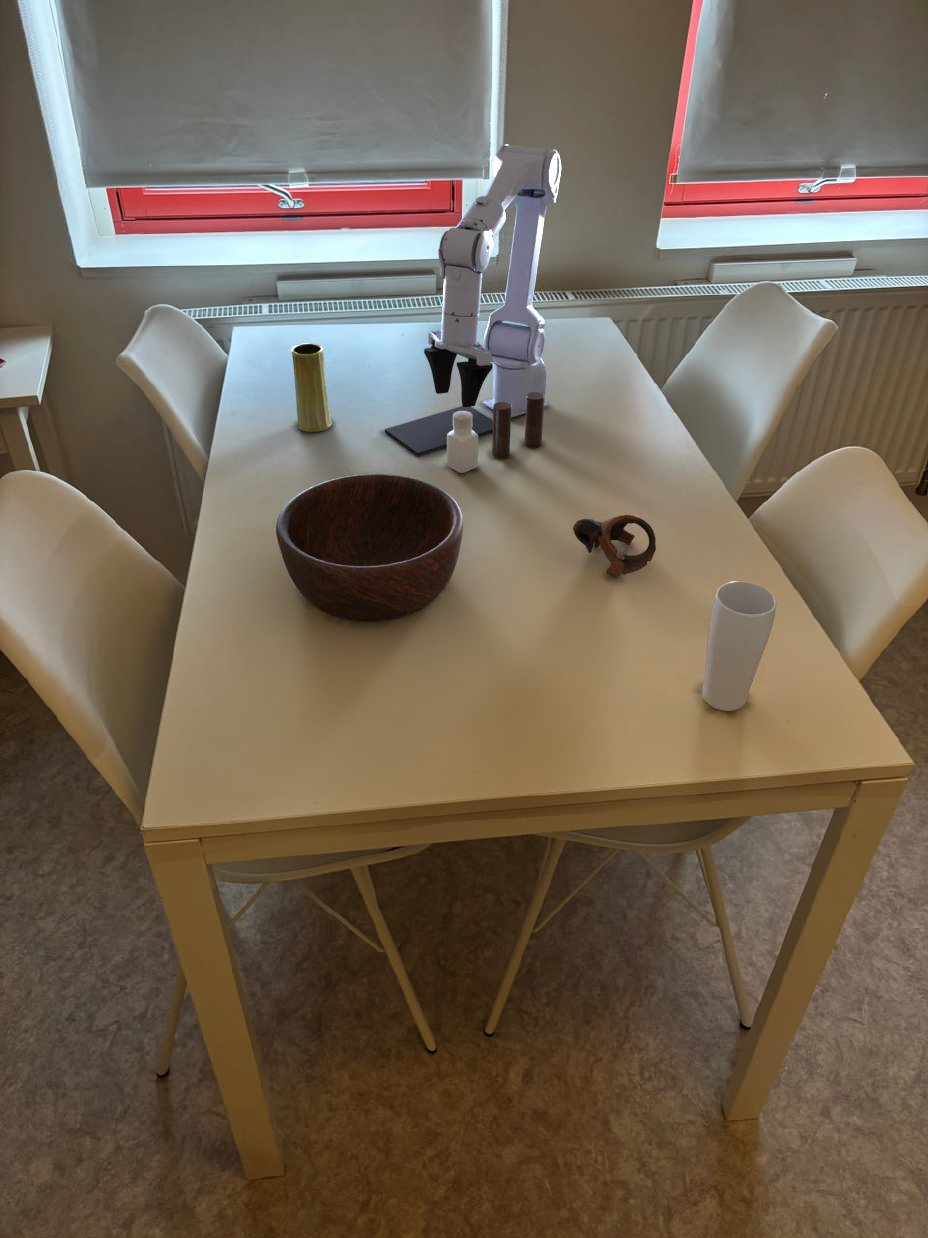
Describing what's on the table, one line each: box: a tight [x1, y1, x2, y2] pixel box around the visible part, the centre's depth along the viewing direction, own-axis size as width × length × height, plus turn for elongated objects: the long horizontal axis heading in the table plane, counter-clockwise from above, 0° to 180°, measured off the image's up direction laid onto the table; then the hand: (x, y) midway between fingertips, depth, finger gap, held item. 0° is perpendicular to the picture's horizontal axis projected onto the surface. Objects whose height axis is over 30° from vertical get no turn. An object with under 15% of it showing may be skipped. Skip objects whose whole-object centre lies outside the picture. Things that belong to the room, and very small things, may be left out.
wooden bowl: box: [275, 473, 464, 622], centre depth 131 cm, size 25×25×10 cm
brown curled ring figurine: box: [572, 514, 657, 579], centre depth 137 cm, size 12×10×8 cm
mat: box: [384, 405, 493, 457], centre depth 171 cm, size 18×11×1 cm, turn 125°
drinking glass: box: [701, 580, 778, 712], centre depth 111 cm, size 7×7×15 cm
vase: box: [291, 342, 332, 433], centre depth 169 cm, size 6×6×14 cm
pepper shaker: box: [446, 411, 479, 474], centre depth 158 cm, size 4×4×10 cm
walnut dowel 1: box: [491, 402, 512, 460], centre depth 162 cm, size 3×3×9 cm
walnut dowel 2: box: [523, 392, 545, 449], centre depth 165 cm, size 3×3×9 cm
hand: (455, 399), depth 154 cm, fingers open, 7 cm apart
